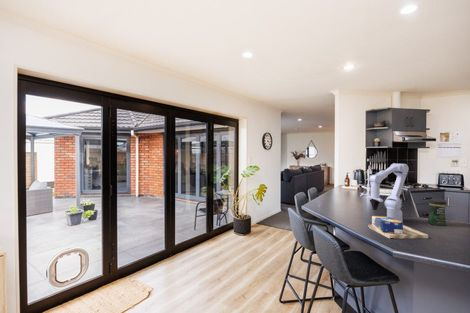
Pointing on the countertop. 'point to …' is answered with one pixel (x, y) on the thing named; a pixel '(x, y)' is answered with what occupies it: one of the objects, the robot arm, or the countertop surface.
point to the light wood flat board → (407, 233)
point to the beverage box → (388, 224)
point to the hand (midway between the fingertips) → (374, 209)
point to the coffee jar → (437, 212)
